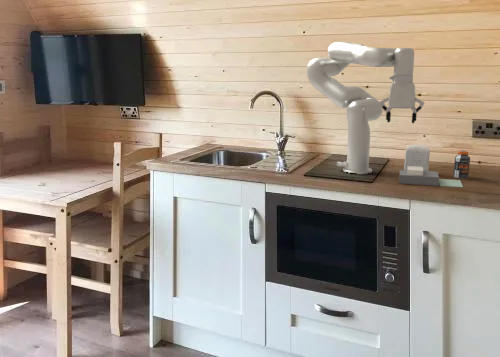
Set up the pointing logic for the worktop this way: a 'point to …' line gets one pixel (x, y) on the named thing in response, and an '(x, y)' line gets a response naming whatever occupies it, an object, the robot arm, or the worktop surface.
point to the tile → (414, 170)
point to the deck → (419, 178)
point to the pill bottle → (461, 165)
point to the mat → (450, 183)
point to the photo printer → (417, 156)
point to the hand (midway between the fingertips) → (400, 122)
